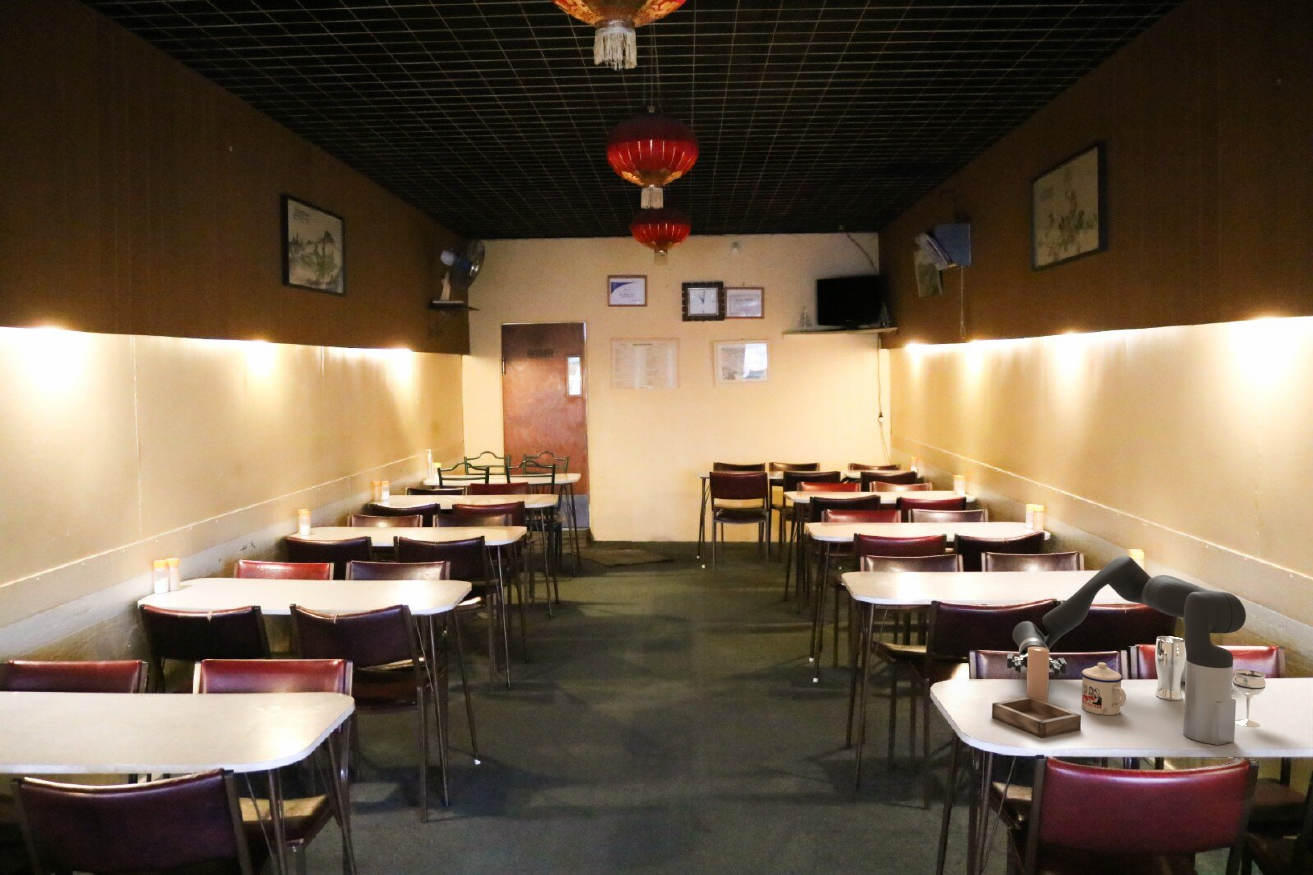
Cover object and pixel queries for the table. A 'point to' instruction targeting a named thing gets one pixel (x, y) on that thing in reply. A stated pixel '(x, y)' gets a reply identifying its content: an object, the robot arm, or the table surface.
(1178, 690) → the beer glass
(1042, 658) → the canister
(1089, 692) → the teacup with lid
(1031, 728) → the tray
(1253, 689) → the wineglass
